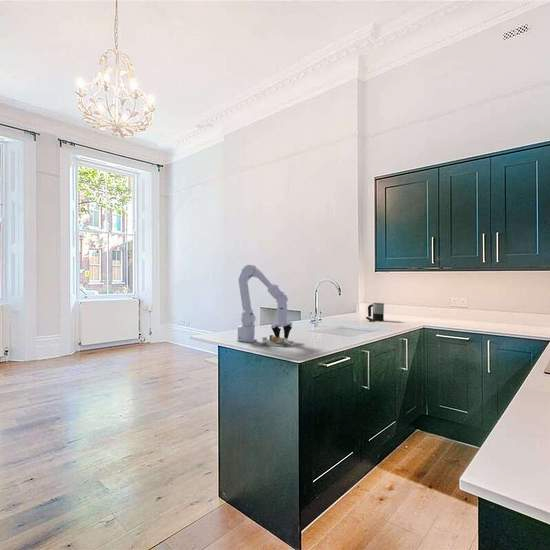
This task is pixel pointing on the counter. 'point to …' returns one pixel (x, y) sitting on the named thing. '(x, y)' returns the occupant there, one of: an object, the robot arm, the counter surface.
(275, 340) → the gate
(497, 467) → the counter surface
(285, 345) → the gate posts
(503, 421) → the counter surface
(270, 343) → the mat
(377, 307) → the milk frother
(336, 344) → the counter surface
